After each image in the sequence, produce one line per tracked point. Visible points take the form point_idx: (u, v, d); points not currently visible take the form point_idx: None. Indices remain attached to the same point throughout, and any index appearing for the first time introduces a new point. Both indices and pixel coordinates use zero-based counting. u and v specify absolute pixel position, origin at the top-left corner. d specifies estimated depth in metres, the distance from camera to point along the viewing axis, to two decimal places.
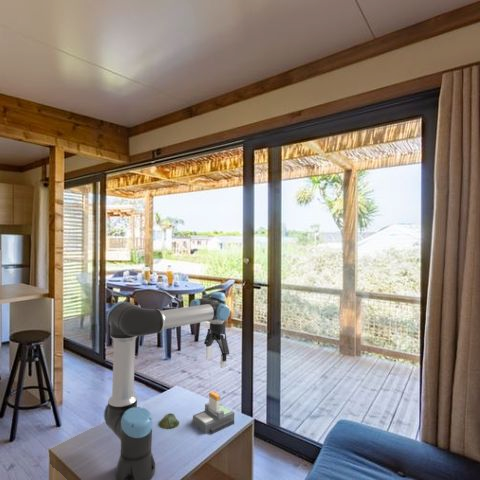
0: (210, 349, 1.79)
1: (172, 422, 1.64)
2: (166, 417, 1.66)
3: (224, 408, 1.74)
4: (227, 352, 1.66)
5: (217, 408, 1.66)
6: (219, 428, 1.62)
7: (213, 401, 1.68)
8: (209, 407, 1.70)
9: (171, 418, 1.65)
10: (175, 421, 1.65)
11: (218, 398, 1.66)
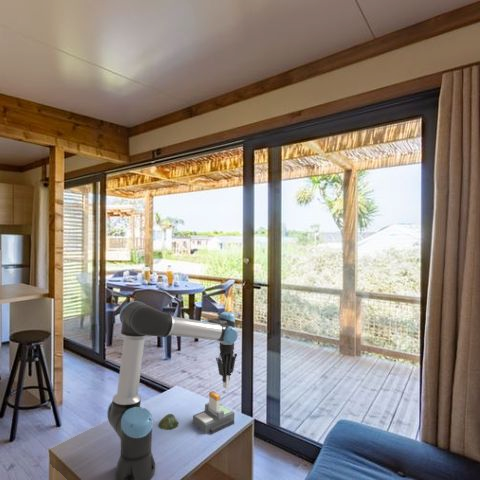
0: None
1: (172, 423, 1.63)
2: (166, 418, 1.65)
3: (224, 408, 1.74)
4: (220, 374, 1.71)
5: (217, 408, 1.66)
6: (219, 428, 1.62)
7: (213, 401, 1.68)
8: (209, 407, 1.70)
9: (171, 419, 1.65)
10: (175, 422, 1.65)
11: (218, 398, 1.66)
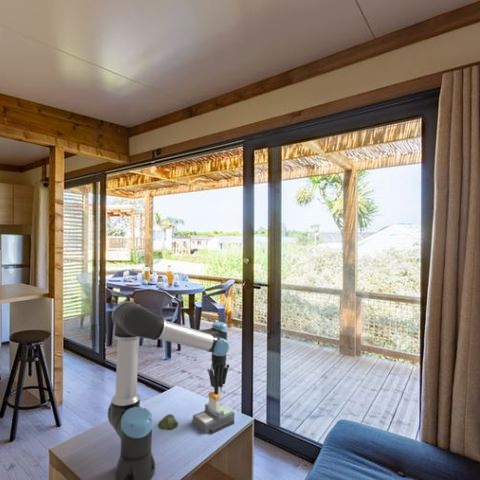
0: None
1: (171, 423, 1.63)
2: (165, 418, 1.65)
3: (224, 408, 1.74)
4: (212, 385, 1.67)
5: (217, 408, 1.66)
6: (219, 428, 1.62)
7: (213, 401, 1.67)
8: (209, 407, 1.70)
9: (170, 419, 1.65)
10: (174, 422, 1.64)
11: (217, 398, 1.66)
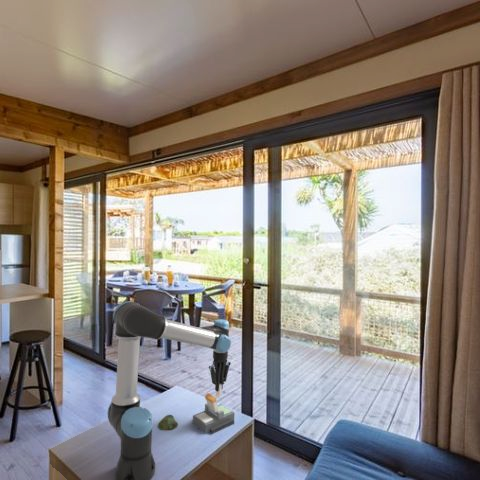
0: None
1: (171, 424, 1.63)
2: (165, 418, 1.65)
3: (224, 408, 1.74)
4: (213, 382, 1.68)
5: (216, 409, 1.66)
6: (219, 428, 1.62)
7: (211, 403, 1.66)
8: (209, 408, 1.70)
9: (170, 419, 1.64)
10: (174, 423, 1.64)
11: (214, 400, 1.65)
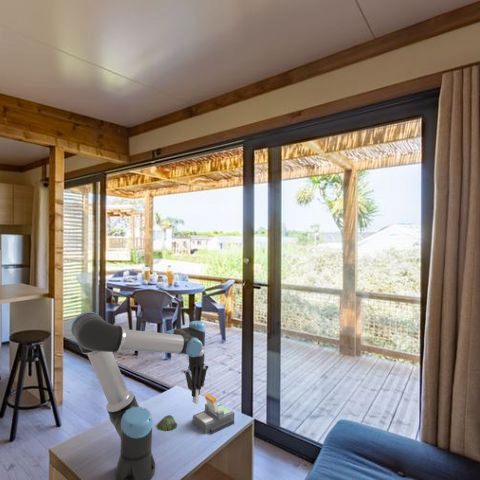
0: None
1: (171, 424, 1.62)
2: (164, 419, 1.64)
3: (224, 408, 1.74)
4: (189, 388, 1.58)
5: (216, 409, 1.66)
6: (219, 428, 1.62)
7: (211, 403, 1.66)
8: (209, 408, 1.70)
9: (169, 420, 1.64)
10: (173, 423, 1.63)
11: (214, 400, 1.65)
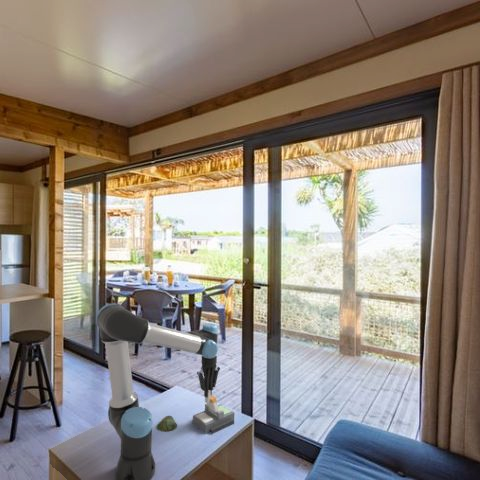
0: None
1: (170, 425, 1.62)
2: (164, 419, 1.64)
3: (224, 408, 1.74)
4: (202, 388, 1.63)
5: (216, 409, 1.66)
6: (219, 428, 1.62)
7: (211, 403, 1.66)
8: (209, 408, 1.70)
9: (169, 420, 1.63)
10: (173, 424, 1.63)
11: (214, 400, 1.65)
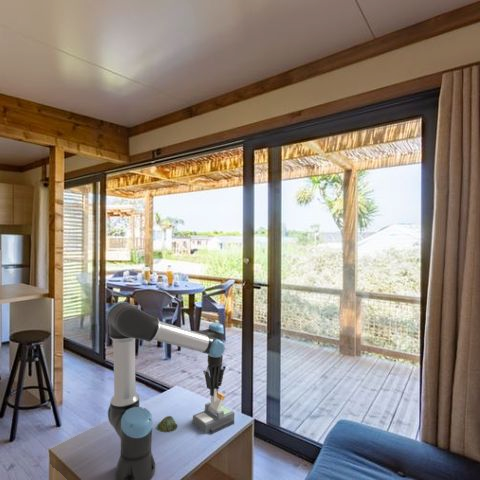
0: None
1: (171, 425, 1.61)
2: (164, 420, 1.63)
3: (224, 408, 1.74)
4: (208, 387, 1.66)
5: (218, 408, 1.67)
6: (219, 428, 1.62)
7: (217, 399, 1.69)
8: (210, 406, 1.70)
9: (169, 421, 1.63)
10: (173, 424, 1.62)
11: (222, 397, 1.68)
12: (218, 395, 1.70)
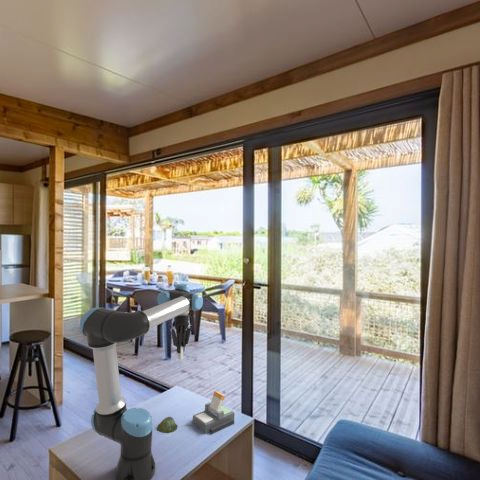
0: None
1: (171, 426, 1.61)
2: (164, 421, 1.63)
3: (224, 408, 1.74)
4: (174, 344, 1.71)
5: (218, 408, 1.67)
6: (219, 428, 1.62)
7: (217, 399, 1.69)
8: (210, 406, 1.70)
9: (169, 422, 1.62)
10: (174, 425, 1.62)
11: (223, 397, 1.68)
12: (218, 395, 1.70)
